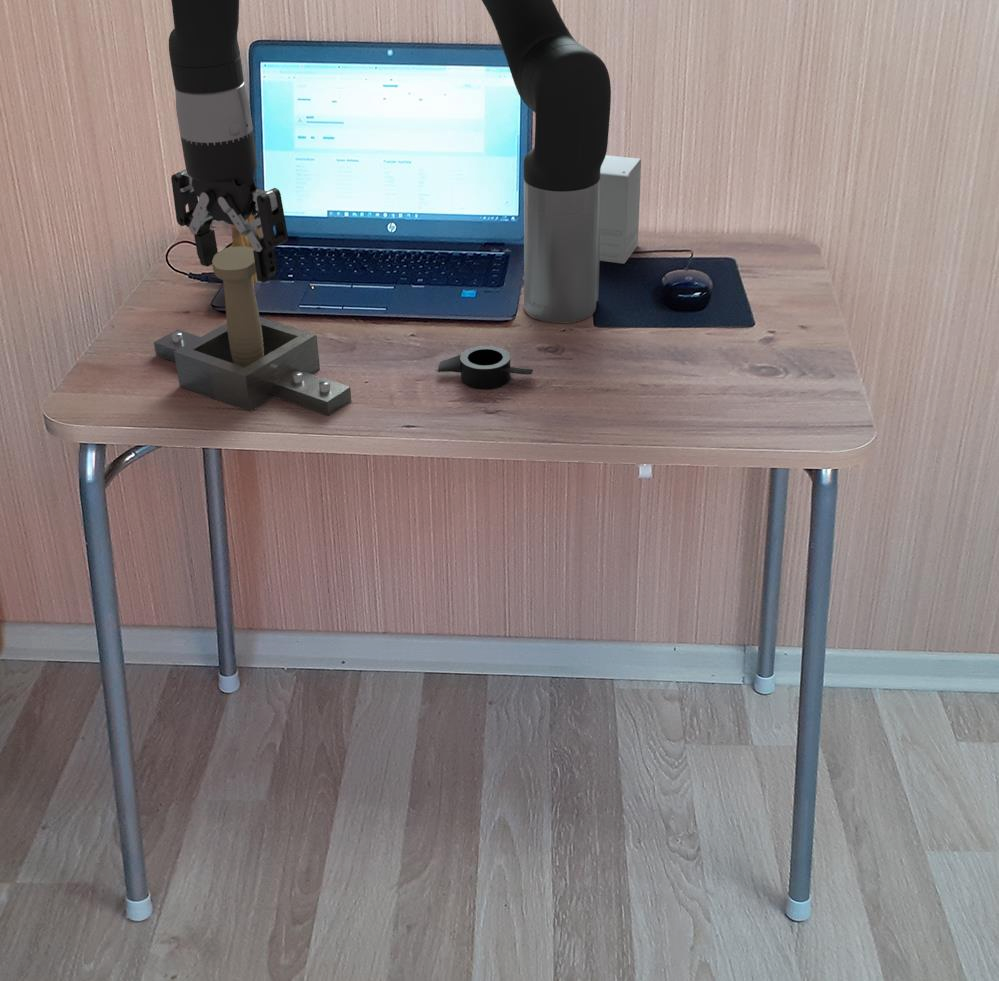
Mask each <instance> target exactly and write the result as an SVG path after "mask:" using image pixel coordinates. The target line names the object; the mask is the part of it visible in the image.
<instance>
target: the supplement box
mask: <svg viewBox="0 0 999 981" xmlns="http://www.w3.org/2000/svg"><path fill="white" fill-rule="evenodd" d="M641 170H642V159H641V158H639V157H638V158H637V157H626V156H618V155H609V154H608V155H607V154H606V156H605V159H604V161H603V163H602V165H601V170H600V192H599V229H598V231H599V232H600V261H599V262H608V263H614V264H615V263H616V264H621V265H622V264H623V265H624V264H625V263H626V262H627V261H628V260H629V258H630V257H631V255H632V254H633V253H634V251H635V250H636V249H637V247H638V245H639V229H640V228H639V225H640V224H639V222H640V202H641V201H640V198H641V196H640V195H641V174H642V172H641Z"/></svg>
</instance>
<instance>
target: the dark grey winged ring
mask: <svg viewBox="0 0 999 981" xmlns="http://www.w3.org/2000/svg"><path fill="white" fill-rule="evenodd" d="M437 372H438V373H443V372H444V373H445V372H446V373H447V372H448V373H450V372H451V373H458V374H460V382H462V384H464V385H465V387H469V388H470V389H475V390H483V391H486V390H494V389H495V390H496V389H499V388H502V387H504V386H506V385H507V384H509V383H510V380H511V374H518V375H532V374H533V372H534V369H533V368H523V367H514V366H511V355H510V353H509V351H507V350H505V348H501V347H498V346H493V345H479V346H472V347H471V348H468V349H466V350H464V351H463V352H462V353H460V354H459V355H455V356H453V357H450V358H447V359H444V360H441V361H440V362H439V364H438V368H437Z"/></svg>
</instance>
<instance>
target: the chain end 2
mask: <svg viewBox="0 0 999 981" xmlns="http://www.w3.org/2000/svg"><path fill="white" fill-rule="evenodd" d="M279 323H280V324H279V325H277V326H275V327H273V328H272V330H273V338H274V346H275V350H274V351H272V352H270V353H269V354H267V355H265V356H264V357H262V358H260V359H258V360H257V361H255V362H253V363H252V364H250V365H248V366H246V367H242V366H239V365H236V364H233V363H230V362H227V361H224V360H222V359H219V358H218V359H217V360H215V361H213V362H211V363H210V364H209V367H210V373H211V380H212V386H213V393H214V400H217V401H219V402H222V403H225V404H227V405H230V406H233V407H236V408H238V407H239V409H241V408H242V409H241V410H244V409H245V410H244V411H247V410H248V411H247V412H249V411H250V412H249V413H251V412H253V411H254V410H256V409H257V408H259V407H261V406H262V405H264V404H266V403H267V402H269V401H270V400H272V399H274V398H276V399H280V400H282V401H285V402H288V403H291V404H294V405H297V406H300V407H301V408H304V409H308V410H311V411H314V412H316V413H319V414H321V415H325V416H328V417H329V416H330V415H333V414H334V413H335V412H337V411H339V410H340V409H341V408H343V407H344V406H345V405H348V404H349V403H351V402H352V392H351V386H348V385H346V384H343V383H339V382H336V381H335V380H334V381H333V380H330V379H328V378H325V377H322V376H320V375H316V374H315V372H317V371H319V370H320V369H321V366H320V355H319V347H318V345H319V344H318V336H317V335H318V334H316V333H313V332H309V331H307V330H304V329H300V328H297V327H295V326H294V327H293V326H290V325H288V324H285V323H282V322H279ZM255 408H256V409H255ZM252 410H253V411H252Z"/></svg>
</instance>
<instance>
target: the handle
mask: <svg viewBox="0 0 999 981" xmlns="http://www.w3.org/2000/svg"><path fill="white" fill-rule="evenodd" d="M253 251H254V249H253V248H251V247H244V246H238V247H232V246H229V247H225V248H222V249H221V250H219V251H218V253H217V254H215V256H214V257H213V260H212V265H211V266H212V270H213V273H214V275H215V277H217V278H218V279H219V280H221V281H222V282H223V290H224V291H223V293H224V303H225V315H226V316H225V318H226V323H227V331H228V339H229V345H230V350H231V355H232V359H233V363H234V364H236V365H239V366H242V367H246V366H248V365H250V364H252V363H253V362H255V361H257V360H258V359H260V358H262V357H264V347H263V336H262V328H261V322H260V317H261V316H260V313H259V307H258V302H257V298H256V296H257V295H256V296H255V290H254V285H253V277H252V276H253V275H254V274H255V273H256V267H255V260H254V253H253Z"/></svg>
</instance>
